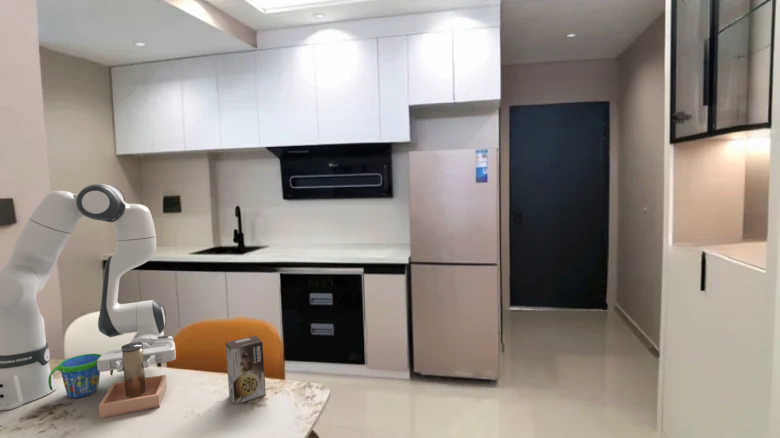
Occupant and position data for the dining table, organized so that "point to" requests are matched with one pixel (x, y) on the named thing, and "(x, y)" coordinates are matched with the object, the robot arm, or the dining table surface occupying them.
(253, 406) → the dining table surface
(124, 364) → the bronze tin
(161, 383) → the terracotta tray
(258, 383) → the coffee box
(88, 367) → the snack cup
